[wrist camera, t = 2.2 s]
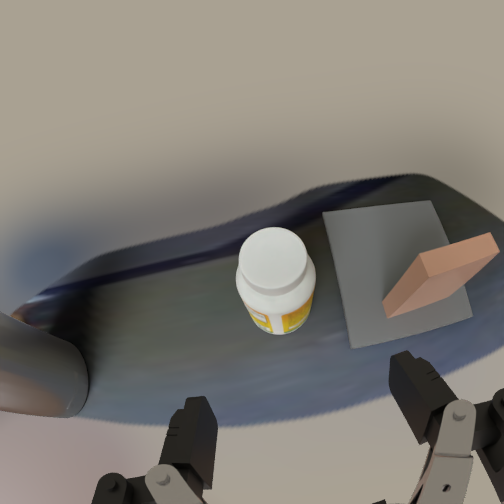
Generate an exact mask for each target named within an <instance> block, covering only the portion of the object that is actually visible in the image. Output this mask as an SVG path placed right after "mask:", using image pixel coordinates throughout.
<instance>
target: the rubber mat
mask: <svg viewBox="0 0 504 504" xmlns="http://www.w3.org/2000/svg"><path fill="white" fill-rule="evenodd" d="M322 217H323V220H324V224H325V228H326V232H327V236H328V240H329V245H330V249H331V253H332V257H333V262H334V266H335V271H336V275H337V280H338V285H339V290H340V295H341V300H342V305H343V310H344V315H345V321H346V326H347V332H348V338H349V344H350V350H351V349H356V348H361V347H366V346H370V345H375V344H379V343H384V342H388V341H392V340H396V339H400V338H404V337H408V336H412V335H416V334H419V333H423V332H427V331H430V330H433V329H437V328H440V327H443V326H447V325H450V324H453V323H456V322H459V321H462V320H465V319H468V318H470V317H472V316H473V314H472V310H471V307H470V303H469V300H468V296H467V293H466V289H465V286H464V285H462V286H461V287H460V288H459V289H458V290H456V291H455V292H454V293H453V294H451V295H450V296H449V297H447V298H444V299H442V300H439V301H436V302H434V303H431V304H428V305H426V306H423V307H420V308H417V309H414V310H412V311H409V312H406V313H403V314H400V315H397V316H394V317H391V318H387V316H386V313H385V310H384V307H383V304H382V301H383V300H384V299H385V297H386V296H387V295H388V294H389V292H390V291H391V290H392V289H393V288H394V286H395V285H396V284H397V282H398V281H399V280H400V279H401V277H402V276H403V275H404V273H405V272H406V271H407V270H408V268H409V267H410V266H411V264H412V263H413V261H414V260H415V259H416V257H417V256H418V255H419V254H420V253H423V252H427V251H430V250H434V249H437V248H441V247H444V246H447V245H450V244H449V241H448V239H447V236H446V234H445V231H444V229H443V227H442V224H441V222H440V220H439V218H438V215H437V213H436V211H435V209H434V207H433V205H432V203H431V201H430V200H428V201H418V202H408V203H398V204H389V205H380V206H371V207H363V208H354V209H346V210H338V211H330V212H323V214H322Z"/></svg>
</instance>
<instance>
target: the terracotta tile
mask: <svg viewBox="0 0 504 504" xmlns="http://www.w3.org/2000/svg"><path fill="white" fill-rule="evenodd" d="M499 252H500V251H499V249H498V247H497V245H496V243H495V241H494V239H493V237H492V235H491V233H490V232H489V233H486V234H483V235H480V236H477V237H473V238H470V239H467V240H464V241H461V242H457V243H454V244H451V245H447V246H444V247H441V248H437V249H434V250H430V251H427V252H423V253H420V254H419V255H418V256H417V257H416V259H415V260H414V261H413V263H412V264H411V266H410V267H409V268H408V270H407V271H406V272H405V273H404V275H403V276H402V277H401V279H400V280H399V281H398V282H397V284H396V285H395V286H394V288H393V289H392V290H391V291H390V292H389V294H388V295H387V296H386V297H385V299H384V300H383V301H382V304H383V307H384V310H385V313H386V316H387V318H391V317H394V316H397V315H400V314H403V313H406V312H409V311H412V310H414V309H417V308H420V307H423V306H426V305H428V304H431V303H434V302H436V301H439V300H442V299H444V298H447V297H449V296H450V295H451V294H453V293H454V292H455V291H456V290H458V289H459V288H460V287H461V286H462V285H464V284H465V283H466V282H467V281H468V280H469V279H471V278H472V277H473V276H474V275H475V274H476V273H477V272H478V271H480V270H481V269H482V268H483V267H484V266H485V265H486V264H487V263H488V262H489V261H490V260H491V259H492V258H493V257H495V256H496V255H497V254H498V253H499Z"/></svg>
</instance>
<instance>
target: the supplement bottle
mask: <svg viewBox="0 0 504 504" xmlns="http://www.w3.org/2000/svg"><path fill="white" fill-rule="evenodd" d="M315 282H316V273H315V267H314V264H313V262H312V260H311V258H310V257H309V255H308V254H307V251H306V248H305V245H304V243H303V242H302V240H301V239H300V238H299V237H298V236H297V235H296V234H295V233H293V232H291V231H289V230H287V229H284V228H278V227H271V228H265V229H262V230H259V231H257V232H255V233H254V234H252V235H251V236H250V237H249V238H248V239H247V240H246V241H245V242H244V244H243V246H242V248H241V250H240V254H239V265H238V268H237V273H236V284H237V289H238V292H239V294H240V296H241V298H242V300H243V302H244V304H245V306H246V308H247V309H248V311H249V313H250V315H251V317H252V319H253V320H254V322H255V323H256V324H257V325H258V326H259V327H260V328H261V329H262V330H264V331H266V332H268V333H272V334H287V333H290V332H293V331H294V330H296V329H297V328H299V327H300V326H301V325H302V324H303V323H304V322H305V321H306V319H307V317H308V315H309V313H310V309H311V304H312V298H313V293H314V288H315Z"/></svg>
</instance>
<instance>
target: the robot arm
mask: <svg viewBox="0 0 504 504" xmlns="http://www.w3.org/2000/svg"><path fill="white" fill-rule="evenodd" d="M389 388H390V391H391V393H392V395H393V397H394V399H395V400H396V402H397V404H398V406H399V407H400V409H401V411H402V413H403V415H404V416H405V418H406V420H407V422H408V424H409V426H410V428H411V430H412V432H413V433H414V435H415V437H416V439H417V441H418V443H419V444H420V445H421V444H423V443H425V442H427V441H428V443H429V445H430V448H429V451H428V454H427V457H426V461H425V464H424V467H423V470H422V473H421V476H420V478H419V481H418V484H417V486H416V488H415V490H414V492H413V495H412V497H411V499H410V501H409V503H408V504H463V501H464V498H465V494H466V491H467V486H468V483H469V478H470V474H471V469H472V465H473V456H471V451H473V450H476V452H477V454H478V456H479V458H480V460H481V462H482V464H483V466H484V468H485V470H486V472H487V474H488V476H489V478H490V480H491V482H492V484H493V486H494V488H495V490H496V492H497V495H498V497H499V500H500V502H501V504H504V388H503V389H500V390H499V391H497V392H496V393H495V395H494V396H493V399H492V400H490V401H487V402H483V403H479V404H472V403H471V402H469V401H467V400H459V399H458V398H457V397H456V395H455V394H454V393H453V391H452V390H451V389H450V388H449V386H448V385H447V384H446V382H445V381H444V380H443V379H442V377H440V375H439V374H438V372H437V371H435V369H434V367H433V366H432V365H431V364H430V362H428V361H426V360H424V359H422V358H421V357H419V358H417V359H415V358H414V357H413V356H412V355H411V353H410V352H409V351H407V350H406V351H404V352H401V353H398V354H395V355H392V356H391V358H390V370H389ZM87 392H88V373H87V368H86V365H85V361H84V359H83V357H82V355H81V353H80V352H79V350H78V349H77V348H76V347H75V346H74V345H73V344H72V343H70V342H68V341H65V340H63V339H60V338H58V337H55V336H53V335H50V334H48V333H46V332H43V331H41V330H39V329H36V328H34V327H32V326H30V325H27V324H25V323H23V322H21V321H19V320H17V319H15V318H13V317H10V316H8V315H6V314H4V313H2V312H0V411H5V412H11V413H17V414H25V415H34V416H43V417H54V418H70V417H73V416H74V415H76V414H77V413H78V412H79V411H80V410H81V409H82V407H83V405H84V403H85V400H86V397H87ZM217 432H218V425H217V420H216V417H215V415H214V413H213V411H212V409H211V407H210V405H209V403H208V401H207V399H206V397H205V396H200V397H188V398H187V399H186V402H185V406H184V409H178V410H177V411H176V412H175V414H174V415H173V416H172V417H171V420H170V424H169V429H168V431H167V434H166V435H167V436H166V438H165V442H164V446H163V449H162V453H161V457H160V460H159V464H158V465H157V466H154V467H153V468H151V469H150V470H149V471H148V472H147V474H146V475H145V476H140V477H135V478H129V479H125V478H124V477H123V476H122V475H121V474H118V473H108V474H106V475H104V476H103V477H101V479H100V480H99V481H98V484H97V487H96V490H95V494H94V497H93V500H92V503H91V504H207V502H206V501H205V500H204V499H203V498H202V494H203V489H212V481H213V471H214V460H215V451H216V441H217ZM373 504H386V501H385V499H384V500H382V501H379V502H376V503H373Z"/></svg>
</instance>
